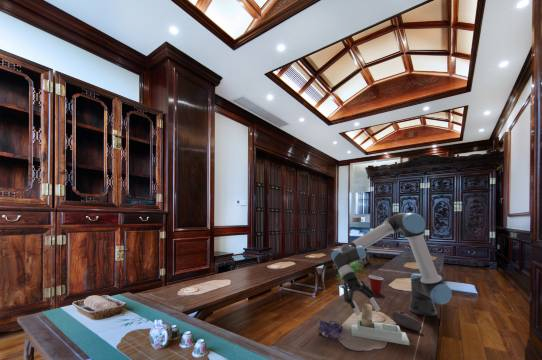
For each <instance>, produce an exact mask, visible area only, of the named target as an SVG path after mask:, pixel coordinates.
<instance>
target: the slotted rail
mask: <svg viewBox="0 0 542 360" xmlns="http://www.w3.org/2000/svg"><path fill="white" fill-rule="evenodd" d="M351 336H353V337H359V338H365V339H371V340H377V341H381V342H387V343H388V342H389V343H393V344H394V343H395V344H399V345H404V346H405V345H406V346H410V340H409V338H408V334H407V333H406V332H404V331H402V330H401V328H400V325H398V324H396V325H395V324H389V323H382V322H375V321H372V328H369V327H363V326H362V319H359V318H358V319H357V324H353V323H351Z"/></svg>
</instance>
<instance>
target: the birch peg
mask: <svg viewBox="0 0 542 360" xmlns="http://www.w3.org/2000/svg"><path fill="white" fill-rule="evenodd" d="M361 320H362V326H363V327H369V328H372V322H373V305H372V304H370V303H366V302H365V303H364V302H363V303H362V304H361Z"/></svg>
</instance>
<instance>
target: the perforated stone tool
mask: <svg viewBox="0 0 542 360" xmlns="http://www.w3.org/2000/svg"><path fill="white" fill-rule="evenodd" d="M392 320H393V322H394V323H395V324H396V325H398V326H399V327H400V326H401V327H402V328H403V327H404V328H406V329H409V330H412V331H414V332H420V331H421V330H422V329H423V327H422V325H421V322H420V321H419V320H418V319H416V318H415V317H413V316H412V315H409V314H407V313H406V312H403V311H400V310H394V311H393V312H392Z"/></svg>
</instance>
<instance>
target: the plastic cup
mask: <svg viewBox="0 0 542 360" xmlns="http://www.w3.org/2000/svg"><path fill="white" fill-rule="evenodd" d="M368 278H369V283H370V289H371V290H372V291H373V292H374V293H375V294H376V295H379V294H381V289H382V284H383V281H384V278H383V277H381V276H377V275H373V274H372V275H371V274H370V275H368Z"/></svg>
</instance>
